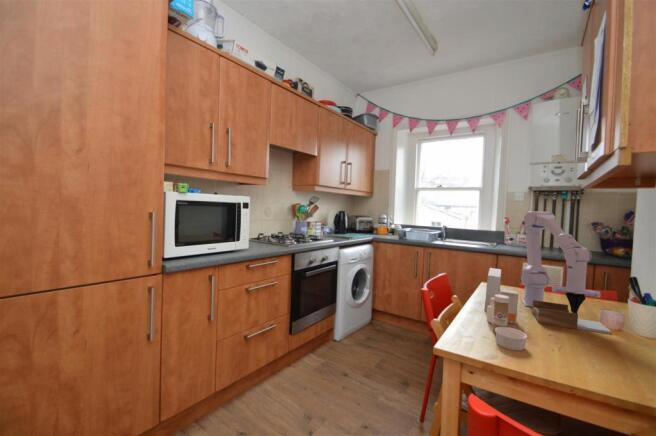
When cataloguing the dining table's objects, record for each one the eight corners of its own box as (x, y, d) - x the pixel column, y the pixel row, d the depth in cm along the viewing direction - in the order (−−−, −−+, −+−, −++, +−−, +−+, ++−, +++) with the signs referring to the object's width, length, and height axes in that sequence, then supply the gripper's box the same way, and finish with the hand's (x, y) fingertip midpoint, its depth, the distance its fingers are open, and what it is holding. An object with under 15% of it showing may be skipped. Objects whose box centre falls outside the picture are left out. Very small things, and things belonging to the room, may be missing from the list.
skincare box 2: (498, 321, 115) (500, 291, 115) (498, 317, 119) (499, 288, 119) (516, 324, 113) (518, 293, 112) (515, 320, 116) (517, 291, 116)
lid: (567, 320, 119) (568, 317, 119) (599, 325, 115) (599, 322, 115) (576, 330, 110) (576, 326, 110) (611, 335, 106) (611, 331, 106)
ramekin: (532, 348, 93) (532, 335, 93) (517, 354, 89) (517, 340, 89) (503, 337, 101) (504, 324, 101) (488, 342, 97) (489, 329, 96)
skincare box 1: (498, 314, 124) (500, 276, 123) (484, 311, 126) (486, 275, 126) (499, 301, 142) (501, 268, 141) (487, 299, 144) (488, 267, 144)
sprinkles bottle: (493, 334, 103) (495, 296, 102) (492, 329, 107) (493, 293, 106) (508, 336, 101) (510, 298, 100) (506, 331, 105) (508, 295, 105)
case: (532, 313, 125) (532, 300, 125) (566, 318, 120) (567, 304, 120) (538, 323, 114) (539, 308, 114) (577, 329, 109) (578, 314, 109)
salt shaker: (493, 320, 116) (494, 296, 116) (502, 324, 112) (503, 300, 112) (485, 321, 115) (487, 297, 114) (494, 325, 111) (495, 300, 111)
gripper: (556, 277, 113) (554, 312, 114) (604, 283, 107) (602, 319, 108) (551, 274, 120) (549, 306, 120) (596, 279, 114) (594, 313, 114)
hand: (574, 312), depth 114 cm, fingers closed
